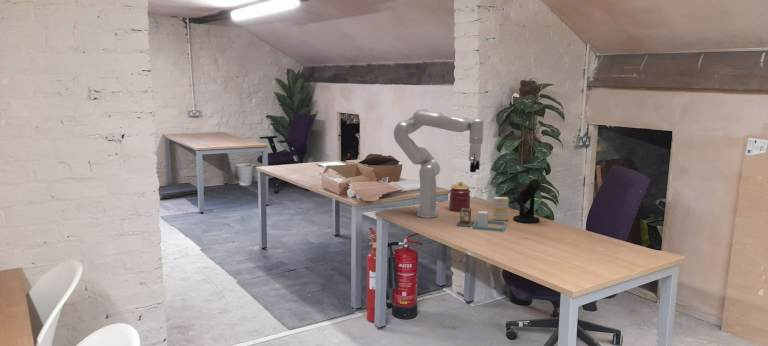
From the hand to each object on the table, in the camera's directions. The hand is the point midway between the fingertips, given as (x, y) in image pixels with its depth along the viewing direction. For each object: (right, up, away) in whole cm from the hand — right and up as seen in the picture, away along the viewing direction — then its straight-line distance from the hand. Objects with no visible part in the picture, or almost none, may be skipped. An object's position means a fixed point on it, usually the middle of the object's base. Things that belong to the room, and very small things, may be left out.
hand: (474, 170), depth 315 cm
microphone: (+31, -29, +5) cm, 43 cm away
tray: (+7, -31, -9) cm, 33 cm away
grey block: (+3, -31, -8) cm, 32 cm away
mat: (-6, -30, -5) cm, 31 cm away
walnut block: (-6, -29, -5) cm, 30 cm away
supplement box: (+16, -29, +7) cm, 33 cm away
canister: (-4, -24, +30) cm, 39 cm away
